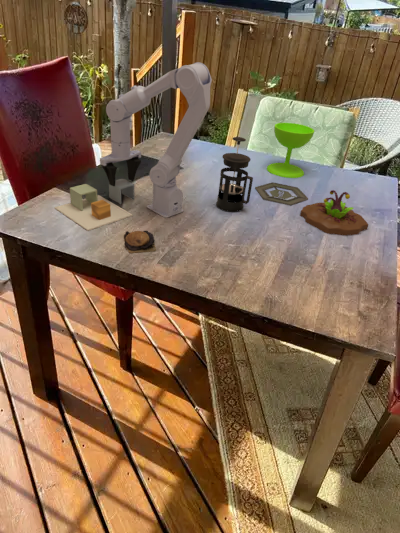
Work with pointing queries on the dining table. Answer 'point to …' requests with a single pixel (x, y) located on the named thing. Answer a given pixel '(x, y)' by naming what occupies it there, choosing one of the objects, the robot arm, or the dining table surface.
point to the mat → (86, 217)
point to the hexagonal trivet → (286, 194)
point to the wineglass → (290, 147)
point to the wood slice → (139, 242)
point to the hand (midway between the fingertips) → (121, 182)
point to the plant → (334, 216)
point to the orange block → (100, 209)
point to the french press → (233, 190)
